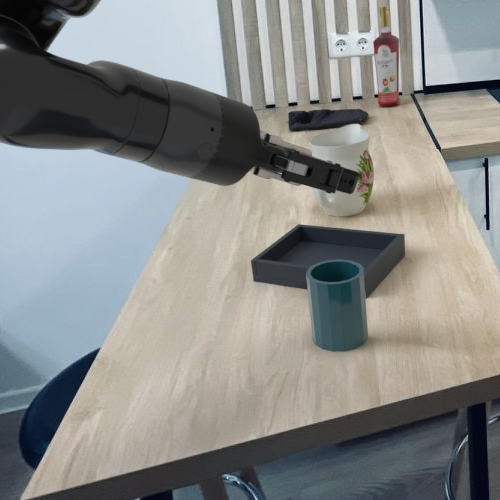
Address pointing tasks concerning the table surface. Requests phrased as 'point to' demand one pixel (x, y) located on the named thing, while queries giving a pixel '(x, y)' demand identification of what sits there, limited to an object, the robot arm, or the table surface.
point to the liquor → (387, 63)
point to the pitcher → (351, 157)
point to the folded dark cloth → (324, 118)
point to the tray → (328, 254)
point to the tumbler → (337, 305)
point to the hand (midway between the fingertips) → (325, 172)
